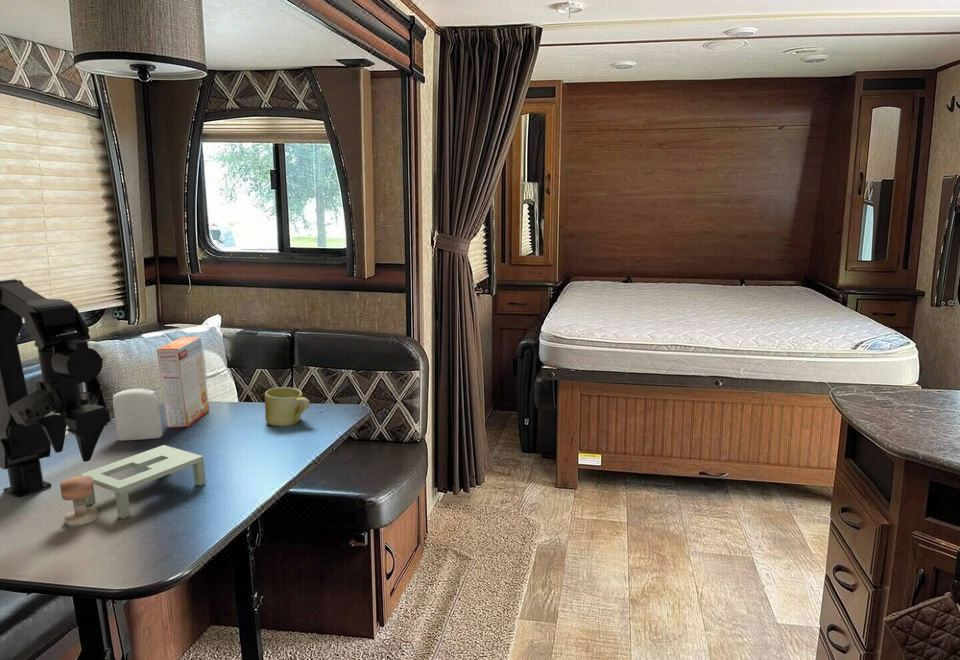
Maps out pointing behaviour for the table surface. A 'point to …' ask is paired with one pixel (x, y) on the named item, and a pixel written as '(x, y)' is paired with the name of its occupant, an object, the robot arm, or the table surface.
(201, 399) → the cracker box
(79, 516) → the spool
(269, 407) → the mug
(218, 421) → the table surface
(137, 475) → the keyhole board
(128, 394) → the photo printer
